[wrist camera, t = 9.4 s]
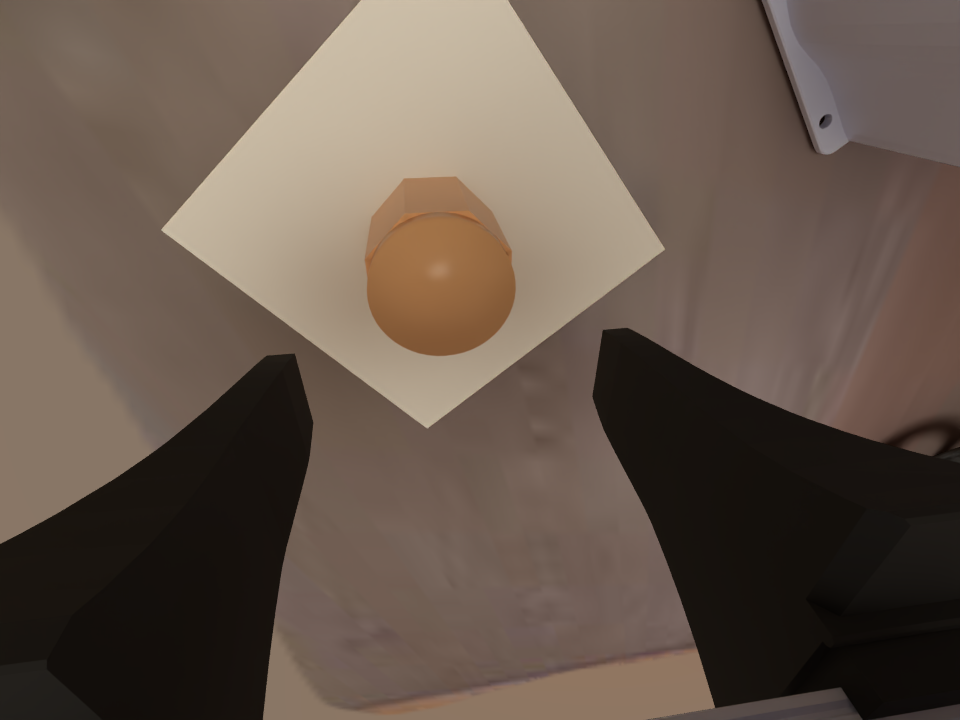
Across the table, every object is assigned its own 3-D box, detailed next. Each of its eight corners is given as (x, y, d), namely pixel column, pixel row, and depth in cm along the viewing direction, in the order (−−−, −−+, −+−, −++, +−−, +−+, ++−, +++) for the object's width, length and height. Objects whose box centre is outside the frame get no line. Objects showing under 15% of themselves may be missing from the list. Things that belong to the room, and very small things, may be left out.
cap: (492, 174, 18) (518, 216, 14) (491, 287, 21) (513, 350, 16) (366, 179, 17) (355, 224, 13) (381, 294, 20) (376, 361, 16)
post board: (654, 241, 21) (711, 287, 18) (426, 415, 25) (430, 486, 21) (443, -90, 14) (459, -137, 11) (171, 221, 18) (108, 272, 14)
